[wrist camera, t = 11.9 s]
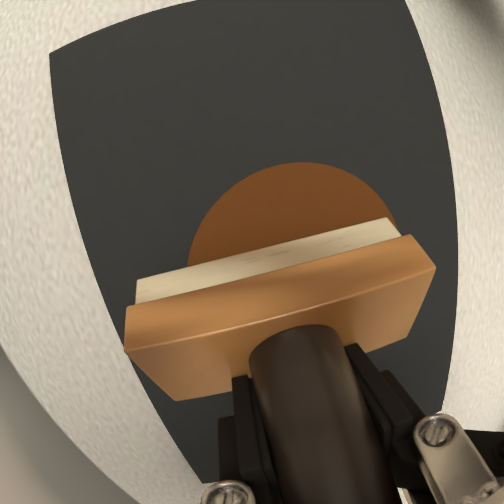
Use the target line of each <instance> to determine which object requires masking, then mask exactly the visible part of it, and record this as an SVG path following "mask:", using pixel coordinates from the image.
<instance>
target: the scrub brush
mask: <svg viewBox="0 0 504 504" xmlns="http://www.w3.org/2000/svg"><path fill="white" fill-rule="evenodd" d="M435 270H436V266H435V265H434V263H433V262H432V261H431V259H430V258H429V257H428V255H427V254H426V253H425V251H424V250H423V249H422V248H421V246H420V245H419V244H418V242H417V241H416V240H415V239H414V237H413V236H412V235H411V234H407V235H404V236H401V234H400V233H399V232H398V231H397V229H396V228H395V227H394V226H393V224H392V223H391V222H390V221H389V219H388V218H386V217H385V218H381V219H377V220H373V221H369V222H365V223H361V224H357V225H353V226H349V227H345V228H341V229H337V230H333V231H329V232H325V233H321V234H317V235H313V236H309V237H305V238H301V239H297V240H293V241H289V242H285V243H281V244H277V245H273V246H269V247H265V248H261V249H257V250H253V251H249V252H245V253H241V254H238V255H234V256H230V257H226V258H222V259H218V260H214V261H210V262H206V263H202V264H198V265H194V266H190V267H186V268H182V269H178V270H174V271H170V272H166V273H162V274H158V275H154V276H150V277H146V278H142V279H138V280H137V288H136V302H135V305H131V306H128V307H127V308H126V321H125V337H124V352H125V353H126V354H127V355H128V356H129V357H130V358H131V359H132V360H133V361H134V362H135V363H136V365H137V366H138V367H139V368H140V369H141V370H142V371H144V372H145V373H146V374H147V375H148V376H149V377H150V378H151V379H152V380H153V381H154V382H155V383H156V384H157V385H158V386H159V387H160V388H161V389H162V390H163V391H164V392H166V393H167V394H168V395H169V396H170V397H171V398H172V399H173V400H174V401H181V400H187V399H193V398H199V397H204V396H210V395H215V394H220V393H225V392H230V391H232V381H231V379H232V378H234V377H239V376H243V375H248V377H249V378H252V380H253V384H254V389H255V393H256V397H257V402H258V406H259V410H260V414H261V417H262V421H263V425H264V430H265V434H266V438H267V442H268V446H269V450H270V454H271V458H272V462H273V466H274V470H275V474H276V478H277V482H278V487H279V491H280V495H281V499H282V503H283V504H402V501H401V498H400V495H399V492H398V489H397V486H396V483H395V480H394V477H393V474H392V471H391V469H390V466H389V463H388V460H387V457H386V455H385V452H384V449H383V446H382V444H381V441H380V438H379V435H378V433H377V430H376V427H375V425H374V422H373V420H372V417H371V414H370V412H369V409H368V407H367V404H366V401H365V399H364V396H363V394H362V391H361V389H360V386H359V384H358V381H357V379H356V376H355V374H354V371H353V369H352V366H351V364H350V361H349V359H348V357H347V354H346V352H345V349H344V347H345V346H348V345H351V344H354V343H358V344H359V346H360V347H361V348H362V350H363V351H364V352H365V353H367V352H370V351H373V350H375V349H378V348H381V347H383V346H386V345H388V344H391V343H394V342H396V341H399V340H401V339H404V338H406V337H407V335H408V333H409V331H410V329H411V327H412V325H413V323H414V320H415V318H416V316H417V314H418V312H419V309H420V307H421V305H422V302H423V300H424V298H425V295H426V293H427V291H428V288H429V286H430V283H431V281H432V278H433V276H434V273H435Z"/></svg>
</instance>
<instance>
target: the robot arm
mask: <svg viewBox="0 0 504 504" xmlns="http://www.w3.org/2000/svg"><path fill="white" fill-rule="evenodd" d="M344 349H345V352H346V354H347V357H348V359H349V361H350V364H351V366H352V369H353V371H354V374H355V376H356V379H357V381H358V384H359V386H360V389H361V391H362V394H363V396H364V399H365V401H366V404H367V407H368V409H369V412H370V414H371V417H372V420H373V422H374V425H375V427H376V430H377V433H378V435H379V438H380V441H381V444H382V446H383V449H384V452H385V455H386V457H387V460H388V463H389V466H390V469H391V471H392V474H393V477H394V480H395V483H396V486H397V487H398V488H402V490H403V493H404V495H405V498H406V500H407V503H408V504H504V432H491V431H476V430H465V429H463V428H462V427H461V425H460V424H459V423H458V421H457V420H456V419H455V418H454V417H452V416H450V415H447V414H442V413H440V414H432V415H429V416H425V414H424V413H423V412H422V410H421V409H420V408H419V407H418V405H417V404H416V403H415V402H414V400H413V399H412V398H411V396H410V395H409V394H408V393H407V391H406V390H405V389H404V388H403V386H402V385H401V384H400V383H399V381H398V380H397V379H396V378H395V376H394V375H393V374H392V373H391V372H390V371H389V370H384V371H382V372H379V370H378V369H377V368H376V367H375V365H374V364H373V363H372V361H371V360H370V359H369V357H368V356H367V355H366V353H365V352H364V351H363V350H362V348H361V347H360V346H359V344H358V343H354V344H351V345H348V346H345V347H344ZM231 381H232V394H233V406H234V416H229V417H223V418H219V419H218V452H219V478H220V482H218V483H215V484H213V485H212V486H210V487H209V488H208V489H207V490H206V491H205V492H204V494H203V496H202V498H201V504H283V503H282V499H281V495H280V491H279V487H278V482H277V478H276V474H275V470H274V466H273V462H272V458H271V454H270V450H269V446H268V442H267V438H266V434H265V430H264V425H263V421H262V417H261V414H260V410H259V406H258V402H257V397H256V393H255V389H254V384H253V380H252V378H249V377H248V375H243V376H239V377H234V378H232V379H231Z"/></svg>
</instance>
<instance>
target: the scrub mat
mask: <svg viewBox="0 0 504 504" xmlns="http://www.w3.org/2000/svg"><path fill="white" fill-rule="evenodd" d="M49 59H50V74H51V85H52V95H53V104H54V111H55V119H56V125H57V132H58V138H59V143H60V149H61V154H62V159H63V164H64V169H65V174H66V178H67V182H68V187H69V191H70V195H71V199H72V203H73V207H74V210H75V214H76V218H77V221H78V225H79V228H80V232H81V235H82V238H83V242H84V245H85V248H86V251H87V254H88V257H89V260H90V263H91V266H92V269H93V272H94V275H95V277H96V280H97V283H98V286H99V288H100V291H101V294H102V296H103V299H104V301H105V304H106V307H107V309H108V312H109V314H110V316H111V319H112V321H113V324H114V326H115V328H116V331H117V333H118V335H119V337H120V340H121V342H122V344H123V346H124V337H125V321H126V308H127V307H128V306H131V305H135V302H136V288H137V280H138V279H142V278H146V277H150V276H154V275H158V274H162V273H166V272H170V271H174V270H178V269H182V268H186V267H190V266H194V265H198V264H202V263H206V262H210V261H214V260H218V259H222V258H226V257H230V256H234V255H238V254H241V253H245V252H249V251H253V250H257V249H261V248H265V247H269V246H273V245H277V244H281V243H285V242H289V241H293V240H297V239H301V238H305V237H309V236H313V235H317V234H321V233H325V232H329V231H333V230H337V229H341V228H345V227H349V226H353V225H357V224H361V223H365V222H369V221H373V220H377V219H381V218H385V217H386V218H388V219H389V221H390V222H391V223H392V224H393V226H394V227H395V228H396V229H397V231H398V232H399V233H400V234H401V236H404V235H407V234H411V235H412V236H413V237H414V239H415V240H416V241H417V242H418V244H419V245H420V246H421V248H422V249H423V250H424V251H425V253H426V254H427V255H428V257H429V258H430V259H431V261H432V262H433V263H434V265H435V266H436V270H435V273H434V276H433V278H432V281H431V283H430V286H429V288H428V291H427V293H426V295H425V298H424V300H423V302H422V305H421V307H420V309H419V312H418V314H417V316H416V318H415V320H414V323H413V325H412V327H411V329H410V331H409V333H408V335H407V337H406V338H404V339H401V340H399V341H396V342H394V343H391V344H388V345H386V346H383V347H381V348H378V349H375V350H373V351H370V352H367V353H366V355H367V356H368V357H369V359H370V360H371V361H372V363H373V364H374V365H375V367H376V368H377V369H378V370H379V372H382V371H384V370H389V371H390V372H391V373H392V374H393V375H394V376H395V378H396V379H397V380H398V381H399V383H400V384H401V385H402V386H403V388H404V389H405V390H406V391H407V393H408V394H409V395H410V396H411V398H412V399H413V400H414V402H415V403H416V404H417V405H418V407H419V408H420V409H421V410H422V412H423V413H424V414H425V416H429V415H432V414H435V413H437V412H439V411H441V409H442V405H443V400H444V395H445V391H446V385H447V380H448V374H449V368H450V362H451V355H452V348H453V339H454V330H455V320H456V307H457V288H458V233H457V215H456V202H455V191H454V182H453V174H452V166H451V159H450V153H449V147H448V141H447V136H446V130H445V125H444V121H443V116H442V112H441V107H440V103H439V99H438V95H437V91H436V87H435V84H434V80H433V77H432V73H431V70H430V67H429V63H428V60H427V57H426V54H425V51H424V48H423V45H422V42H421V40H420V37H419V34H418V31H417V29H416V26H415V24H414V21H413V19H412V16H411V14H410V11H409V9H408V7H407V4H406V2H405V0H195V1H191V2H186V3H182V4H178V5H174V6H170V7H166V8H163V9H159V10H156V11H152V12H149V13H146V14H143V15H139V16H136V17H133V18H130V19H128V20H125V21H122V22H119V23H116V24H114V25H111V26H109V27H106V28H103V29H101V30H99V31H96V32H94V33H91V34H89V35H87V36H84V37H82V38H80V39H78V40H76V41H74V42H71V43H69V44H67V45H65V46H63V47H61V48H59V49H57V50H55V51H53V52H51V53H50V54H49ZM128 357H129V356H128ZM129 359H130V361H131V363H132V365H133V367H134V369H135V372H136V374H137V376H138V377H139V379H140V381H141V383H142V385H143V387H144V389H145V391H146V393H147V395H148V397H149V399H150V400H151V402H152V404H153V406H154V408H155V409H156V411H157V413H158V415H159V416H160V418H161V420H162V422H163V423H164V425H165V427H166V428H167V430H168V432H169V433H170V435H171V437H172V438H173V440H174V442H175V443H176V445H177V446H178V448H179V449H180V451H181V453H182V454H183V456H184V457H185V459H186V460H187V462H188V463H189V465H190V466H191V468H192V469H193V471H194V472H195V473H196V475H197V476H198V478H199V479H200V481H201V482H202V483H203V484H204V483H213V482H220V478H219V452H218V419H219V418H223V417H229V416H234V406H233V394H232V391H230V392H225V393H220V394H215V395H210V396H204V397H199V398H193V399H187V400H181V401H174V400H173V399H172V398H171V397H170V396H169V395H168V394H167V393H166V392H164V391H163V390H162V389H161V388H160V387H159V386H158V385H157V384H156V383H155V382H154V381H153V380H152V379H151V378H150V377H149V376H148V375H147V374H146V373H145V372H144V371H142V370H141V369H140V368H139V367H138V366H137V365H136V363H135V362H134V361H133V360H132V359H131V358H130V357H129Z"/></svg>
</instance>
